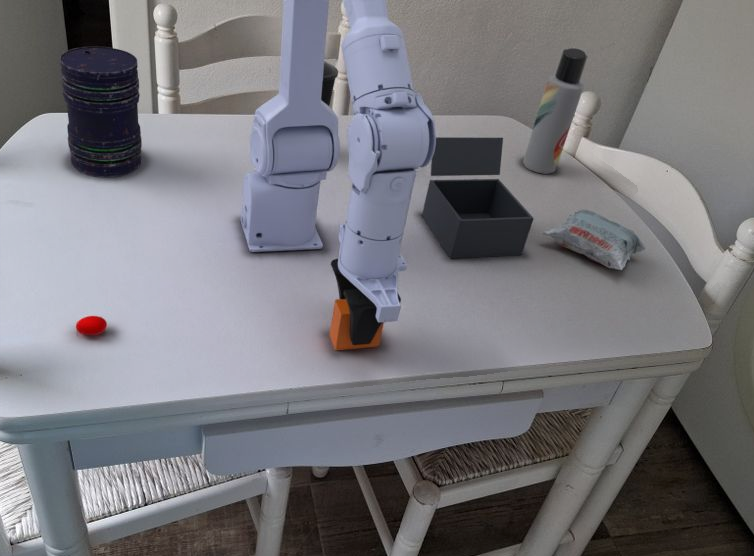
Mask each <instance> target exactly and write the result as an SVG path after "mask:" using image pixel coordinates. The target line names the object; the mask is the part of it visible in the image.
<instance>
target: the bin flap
mask: <svg viewBox="0 0 754 556" xmlns="http://www.w3.org/2000/svg"><path fill="white" fill-rule="evenodd" d="M503 144H504V137H469V136H468V137H467V136H466V137H461V136H460V137H457V136H455V137H453V136H452V137H449V136H448V137H447V136H445V137H444V136H443V137H441V136H439V137H437V136H436V146H435V151H434V155H433V157H432V159H431V161H430V163H431V164H430V177H455V176H460V177H461V176H500V175H501V167H502V166H501V165H502V154H503V146H504V145H503Z"/></svg>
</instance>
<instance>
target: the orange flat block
mask: <svg viewBox="0 0 754 556" xmlns="http://www.w3.org/2000/svg"><path fill="white" fill-rule="evenodd" d="M384 324H385V322H383V323H382V324H381V326H380V327H379V329H378V331H377V333H376V334H375V336H374V338H373V340H372V341H371V343H370V344H363V345H352V342H351V339H350V312H349V307H348V303H347V300H346V299H340V300H339V299H335V300H334V304H333V310H332V317H331V323H330V330H329V337H330V340H331V343H332V345H333V348H334V351H345V350H346V351H347V350H355V349H364V348H365V349H366V348H367V349H368V348H377V347H378V348H379V347H380V343H381V339H382V334H383V329H384Z"/></svg>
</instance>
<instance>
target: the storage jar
mask: <svg viewBox="0 0 754 556" xmlns="http://www.w3.org/2000/svg"><path fill="white" fill-rule="evenodd" d="M59 61H60V62H59V64H60V66H61V68H60V71H61V76H60V78H61V87H62V90H63V91H62V95H63V99H64V102H66V110H67V120H68V123H67V128H66V129H67V143H68V148H69V154H70V155H71V156H70V163H71V166H72V167H73V168H74V170H76V171H77V172H78V173H80V174H83V175H87V176H91V177H96V178H97V177H98V178H117V177H122V176H126V175H129V174H132V173H134V172H135V171H137V170H138V169H139V168H140V167H141V166H142V163H143V161H142V159H143V158H142V155H141V154H142V146H143V144H142V143H143V142H142V131H141V125H140V124H139V107H138V103H139V101H140V96H141V94H140V79H139V71H138V67H139V66H138V58H137V57H136V55H134V54H132V53H130V52H129V51H126V50H123V49H119V48H115V47H108V46H82V47H76V48H72V49H69V50H67V51H64V52H63V53H61V55H60V57H59Z"/></svg>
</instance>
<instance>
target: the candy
mask: <svg viewBox="0 0 754 556" xmlns="http://www.w3.org/2000/svg"><path fill="white" fill-rule="evenodd" d="M107 327H108V322H107V321H106V319H105V318H104V317H103V316H98V315H88V316H85V317H82V318H80V319H79V320H78V321H77V322H76V324H75V329H76V331H77V332H78V333H79V334H81V335H85V336H96V335H100V334H102V333H103V332H104V331H105V330H106V329H107Z"/></svg>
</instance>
